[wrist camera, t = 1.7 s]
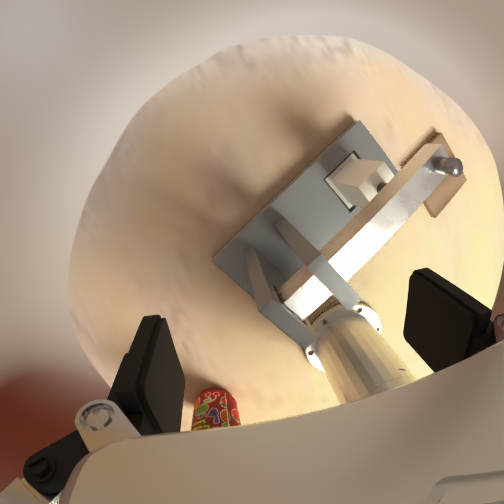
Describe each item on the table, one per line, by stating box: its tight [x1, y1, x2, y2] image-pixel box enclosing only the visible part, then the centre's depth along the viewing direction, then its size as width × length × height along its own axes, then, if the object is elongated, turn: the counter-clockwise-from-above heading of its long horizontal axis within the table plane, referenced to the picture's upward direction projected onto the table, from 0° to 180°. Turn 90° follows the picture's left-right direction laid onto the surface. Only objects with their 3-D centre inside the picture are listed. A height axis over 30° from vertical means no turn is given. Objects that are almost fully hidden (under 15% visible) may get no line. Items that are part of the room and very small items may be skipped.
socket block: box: [213, 120, 398, 349], centre depth 30 cm, size 12×25×15 cm, turn 134°
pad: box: [423, 133, 466, 218], centre depth 37 cm, size 9×9×1 cm
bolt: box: [276, 144, 463, 321], centre depth 24 cm, size 3×22×5 cm, turn 134°
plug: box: [323, 153, 394, 209], centre depth 31 cm, size 5×5×10 cm
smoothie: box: [191, 389, 241, 431], centre depth 36 cm, size 8×8×20 cm
